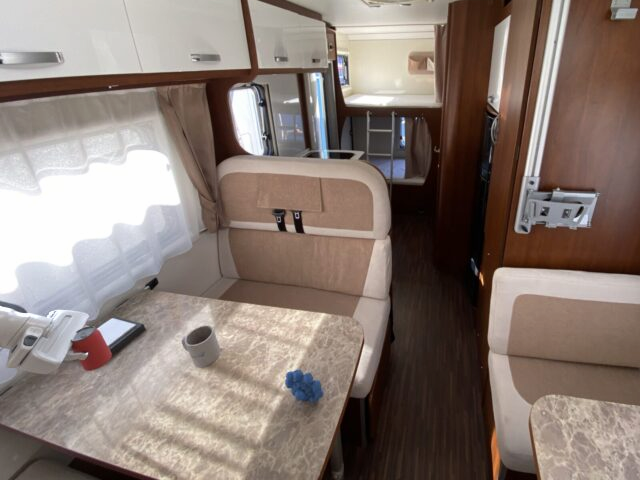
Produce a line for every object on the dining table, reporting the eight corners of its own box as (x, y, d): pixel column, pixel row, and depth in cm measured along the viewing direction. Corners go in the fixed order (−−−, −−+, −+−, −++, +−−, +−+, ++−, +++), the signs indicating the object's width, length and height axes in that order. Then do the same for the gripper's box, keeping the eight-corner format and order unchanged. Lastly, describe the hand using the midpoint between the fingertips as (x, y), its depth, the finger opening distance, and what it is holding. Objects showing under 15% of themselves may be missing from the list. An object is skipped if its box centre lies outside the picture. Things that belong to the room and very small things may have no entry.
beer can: (88, 376, 88) (70, 346, 84) (81, 365, 92) (63, 336, 87) (116, 358, 93) (100, 330, 89) (108, 349, 97) (93, 321, 92)
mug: (226, 349, 108) (219, 328, 104) (205, 370, 101) (196, 349, 97) (201, 340, 113) (194, 319, 109) (180, 359, 105) (171, 338, 101)
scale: (100, 365, 104) (96, 357, 103) (70, 355, 109) (65, 347, 107) (145, 329, 118) (142, 322, 117) (117, 321, 123) (113, 314, 121)
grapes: (282, 410, 88) (274, 383, 83) (292, 388, 94) (286, 361, 89) (319, 417, 86) (313, 390, 81) (327, 394, 92) (323, 367, 87)
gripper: (46, 316, 92) (99, 328, 99) (2, 373, 74) (70, 383, 82) (59, 300, 92) (111, 314, 99) (17, 353, 74) (84, 365, 82)
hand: (92, 345), depth 90 cm, fingers closed on beer can, 6 cm apart
